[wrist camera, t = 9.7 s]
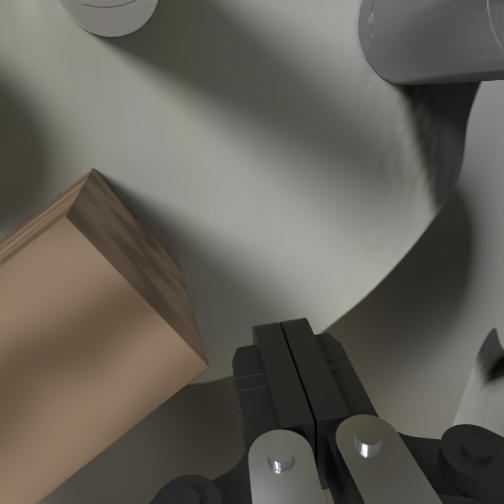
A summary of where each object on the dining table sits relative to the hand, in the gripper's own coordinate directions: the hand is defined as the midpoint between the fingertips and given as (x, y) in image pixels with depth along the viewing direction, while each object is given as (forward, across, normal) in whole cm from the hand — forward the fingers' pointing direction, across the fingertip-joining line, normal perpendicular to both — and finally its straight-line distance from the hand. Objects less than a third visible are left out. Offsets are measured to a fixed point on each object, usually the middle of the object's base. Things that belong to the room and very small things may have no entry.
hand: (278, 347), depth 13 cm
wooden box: (+22, +16, +11) cm, 30 cm away
